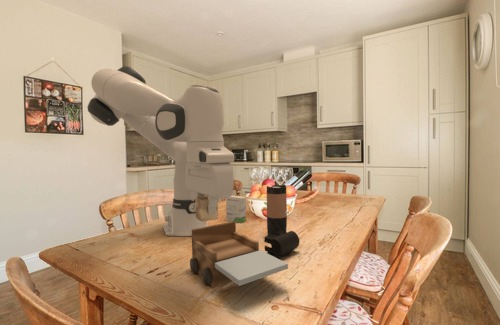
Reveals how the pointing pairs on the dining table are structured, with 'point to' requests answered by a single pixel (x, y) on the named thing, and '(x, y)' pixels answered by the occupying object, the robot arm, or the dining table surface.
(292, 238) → the end cap
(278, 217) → the travel mug
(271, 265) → the tailgate
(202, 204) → the beech block
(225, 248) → the tray
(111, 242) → the dining table surface
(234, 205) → the ink box
